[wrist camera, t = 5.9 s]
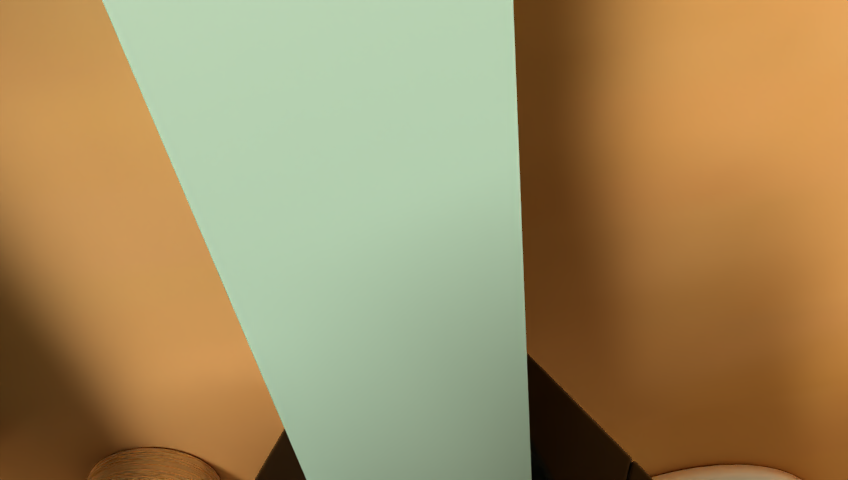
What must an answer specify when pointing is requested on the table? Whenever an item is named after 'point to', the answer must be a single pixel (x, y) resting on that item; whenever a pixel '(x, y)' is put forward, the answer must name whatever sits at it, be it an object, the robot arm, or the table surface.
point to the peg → (152, 466)
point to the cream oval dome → (728, 473)
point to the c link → (357, 216)
